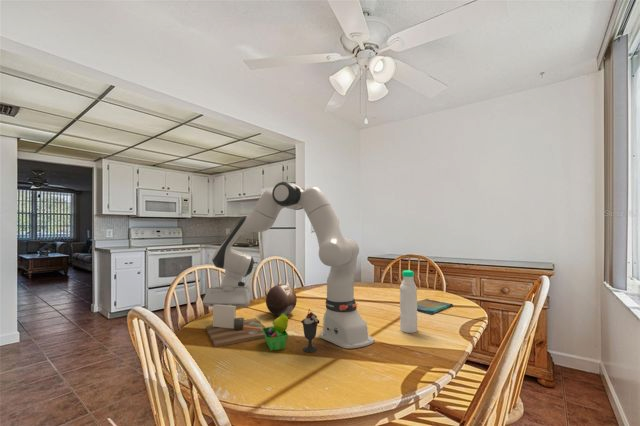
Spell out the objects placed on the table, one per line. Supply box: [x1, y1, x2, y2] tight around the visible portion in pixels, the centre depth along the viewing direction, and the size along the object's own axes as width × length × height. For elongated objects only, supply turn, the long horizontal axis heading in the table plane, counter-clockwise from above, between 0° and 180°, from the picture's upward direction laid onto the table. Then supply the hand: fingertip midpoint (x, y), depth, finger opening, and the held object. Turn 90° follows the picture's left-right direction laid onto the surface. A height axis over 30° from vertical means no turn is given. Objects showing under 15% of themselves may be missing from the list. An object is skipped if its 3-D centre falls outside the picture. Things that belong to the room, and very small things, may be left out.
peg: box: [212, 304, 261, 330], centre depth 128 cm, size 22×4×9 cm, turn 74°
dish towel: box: [417, 298, 454, 316], centre depth 164 cm, size 17×23×2 cm
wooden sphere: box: [265, 283, 297, 317], centre depth 151 cm, size 15×15×15 cm
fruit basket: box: [263, 313, 289, 351], centre depth 115 cm, size 11×9×11 cm
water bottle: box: [399, 269, 419, 334], centre depth 129 cm, size 7×7×25 cm
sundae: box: [300, 308, 320, 353], centre depth 110 cm, size 7×7×15 cm
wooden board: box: [205, 318, 266, 348], centre depth 127 cm, size 22×22×1 cm
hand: (222, 315), depth 132 cm, fingers closed
